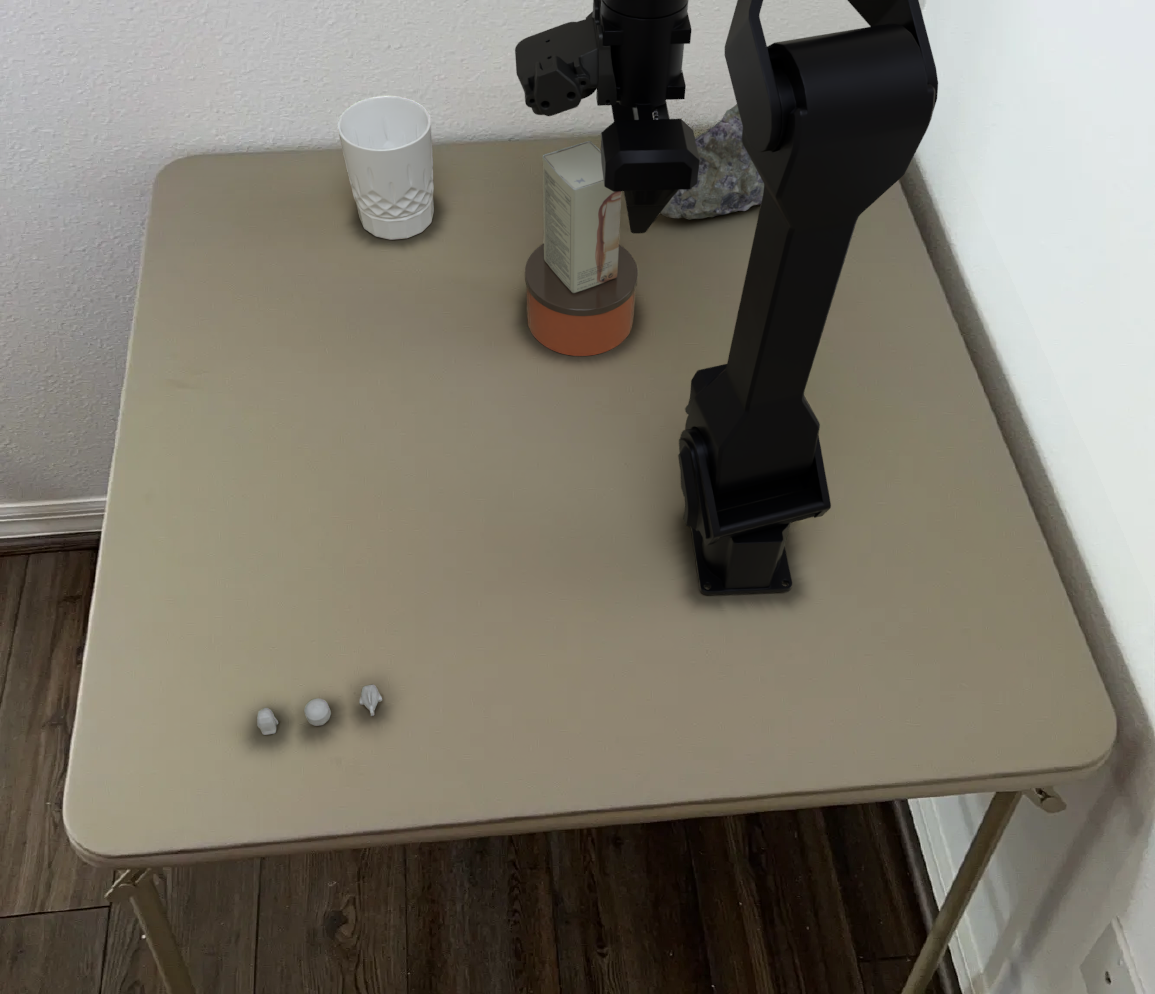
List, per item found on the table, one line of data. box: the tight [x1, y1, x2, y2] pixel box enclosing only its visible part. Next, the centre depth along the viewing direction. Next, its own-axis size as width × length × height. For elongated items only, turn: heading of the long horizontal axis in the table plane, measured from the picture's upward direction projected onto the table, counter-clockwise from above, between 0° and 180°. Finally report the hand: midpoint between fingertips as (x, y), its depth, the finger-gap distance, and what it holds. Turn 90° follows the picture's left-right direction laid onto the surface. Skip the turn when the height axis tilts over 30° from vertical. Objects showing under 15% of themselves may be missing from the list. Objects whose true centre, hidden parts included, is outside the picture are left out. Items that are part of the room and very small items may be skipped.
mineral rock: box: [660, 103, 764, 220], centre depth 102 cm, size 13×11×10 cm
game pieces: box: [256, 684, 383, 736], centre depth 73 cm, size 8×2×2 cm, turn 102°
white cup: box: [336, 94, 435, 241], centre depth 100 cm, size 8×8×10 cm
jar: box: [524, 242, 639, 357], centre depth 94 cm, size 9×9×5 cm
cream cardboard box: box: [542, 140, 622, 293], centre depth 88 cm, size 5×4×10 cm
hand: (631, 192), depth 86 cm, fingers open, 9 cm apart
